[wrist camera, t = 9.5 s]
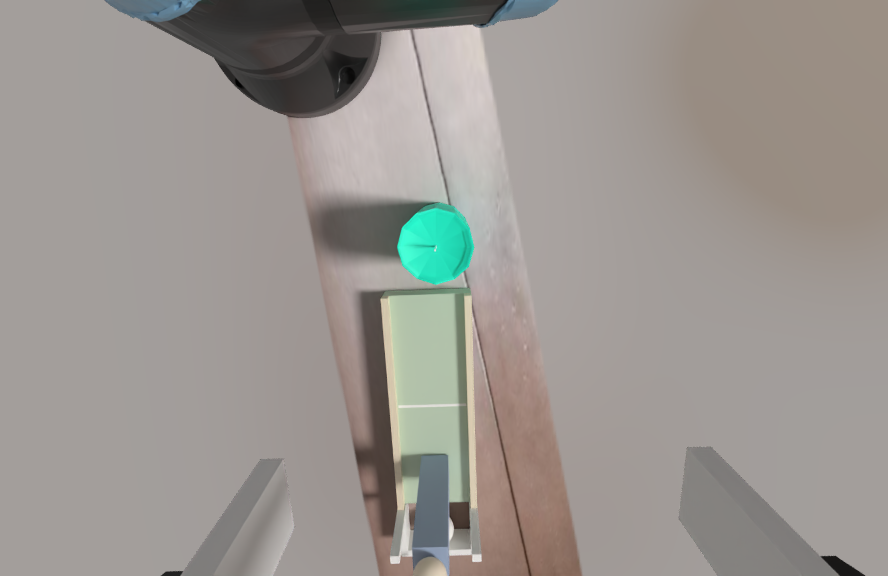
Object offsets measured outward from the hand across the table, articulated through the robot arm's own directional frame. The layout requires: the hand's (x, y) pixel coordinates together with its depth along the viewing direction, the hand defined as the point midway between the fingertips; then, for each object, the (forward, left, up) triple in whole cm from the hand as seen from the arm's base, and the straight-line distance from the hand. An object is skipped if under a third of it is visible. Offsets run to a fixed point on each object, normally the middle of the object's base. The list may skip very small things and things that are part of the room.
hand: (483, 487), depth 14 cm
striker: (+21, -3, -28) cm, 35 cm away
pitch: (+14, -4, -31) cm, 34 cm away
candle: (-5, -2, -31) cm, 31 cm away
